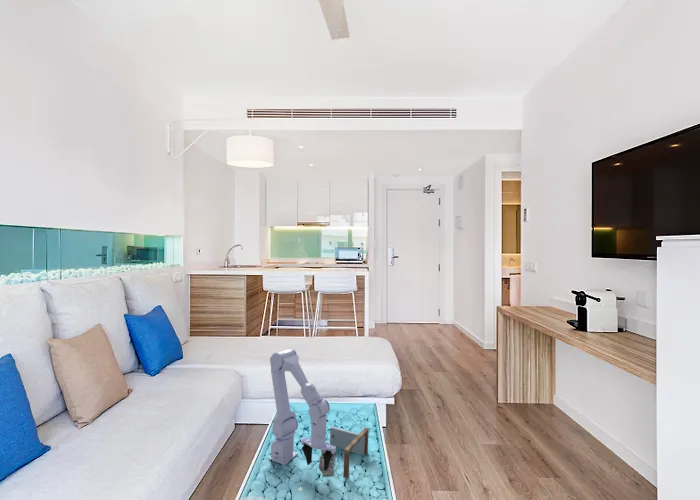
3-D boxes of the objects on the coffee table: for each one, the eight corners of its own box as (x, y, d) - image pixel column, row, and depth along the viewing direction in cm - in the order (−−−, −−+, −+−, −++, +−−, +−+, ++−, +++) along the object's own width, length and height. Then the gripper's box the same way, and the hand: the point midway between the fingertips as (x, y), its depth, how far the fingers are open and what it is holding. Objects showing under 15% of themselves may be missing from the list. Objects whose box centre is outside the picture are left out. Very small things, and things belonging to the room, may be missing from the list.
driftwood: (333, 478, 155) (333, 473, 155) (316, 477, 155) (316, 472, 155) (337, 450, 176) (337, 445, 176) (321, 449, 176) (321, 444, 176)
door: (328, 446, 176) (329, 428, 176) (331, 444, 178) (331, 426, 178) (362, 456, 169) (362, 437, 169) (364, 453, 171) (365, 435, 171)
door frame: (347, 477, 155) (348, 450, 154) (343, 476, 155) (344, 449, 155) (367, 453, 173) (368, 428, 172) (364, 452, 173) (365, 427, 173)
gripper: (339, 432, 157) (338, 466, 158) (308, 423, 164) (307, 456, 164) (331, 440, 151) (330, 475, 152) (298, 430, 157) (297, 465, 158)
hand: (317, 466), depth 157 cm, fingers open, 7 cm apart
